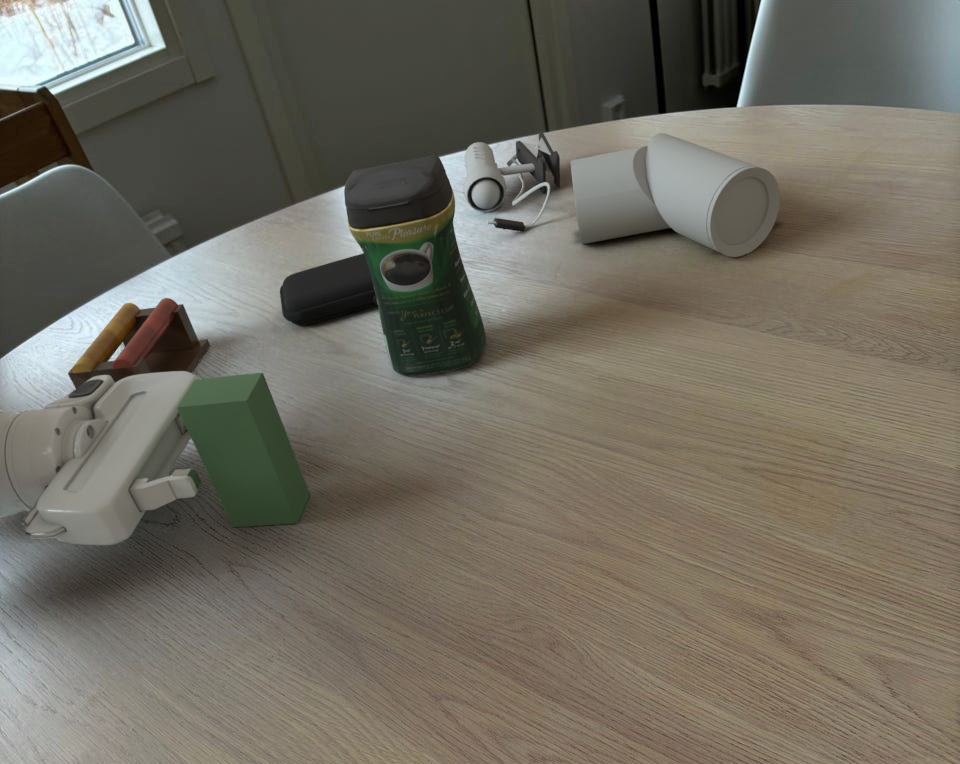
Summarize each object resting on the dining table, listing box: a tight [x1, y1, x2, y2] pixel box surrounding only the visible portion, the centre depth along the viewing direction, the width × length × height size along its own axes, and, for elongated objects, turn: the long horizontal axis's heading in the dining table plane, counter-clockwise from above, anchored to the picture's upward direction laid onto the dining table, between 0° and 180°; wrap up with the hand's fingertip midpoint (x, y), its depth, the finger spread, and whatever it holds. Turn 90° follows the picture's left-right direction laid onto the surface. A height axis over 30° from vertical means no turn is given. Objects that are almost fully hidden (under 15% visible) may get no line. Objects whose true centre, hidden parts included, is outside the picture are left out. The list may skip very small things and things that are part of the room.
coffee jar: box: [343, 154, 487, 377], centre depth 97 cm, size 10×8×19 cm
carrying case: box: [279, 253, 378, 326], centre depth 115 cm, size 11×3×15 cm
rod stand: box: [67, 297, 211, 390], centre depth 110 cm, size 10×13×6 cm
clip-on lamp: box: [463, 131, 561, 233], centre depth 124 cm, size 12×6×18 cm
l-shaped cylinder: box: [570, 132, 781, 258], centre depth 108 cm, size 18×11×20 cm
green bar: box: [177, 372, 311, 528], centre depth 86 cm, size 6×4×12 cm, turn 80°
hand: (216, 447), depth 85 cm, fingers open, 8 cm apart
